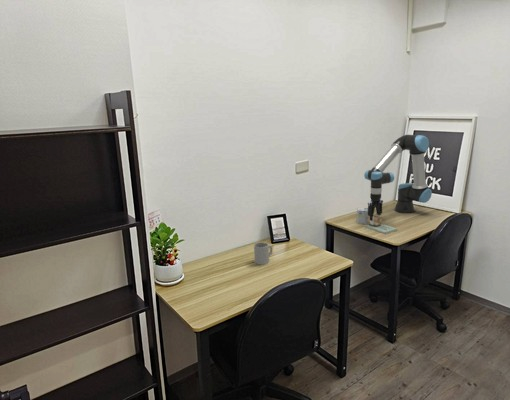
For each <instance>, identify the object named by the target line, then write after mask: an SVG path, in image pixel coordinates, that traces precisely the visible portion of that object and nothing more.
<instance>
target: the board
mask: <svg viewBox="0 0 510 400" xmlns="http://www.w3.org/2000/svg"><path fill="white" fill-rule="evenodd" d="M363 226H364V227H363V228H365V229H368V230H371V231H375V232H377V233H381V234H384V235H386V234H390V233H393V232H396V231H398V228H396V227H393V226H390V225H387V224H383V223H381V225H379V226H374V225H371V224H365V225H364V224H363Z"/></svg>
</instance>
